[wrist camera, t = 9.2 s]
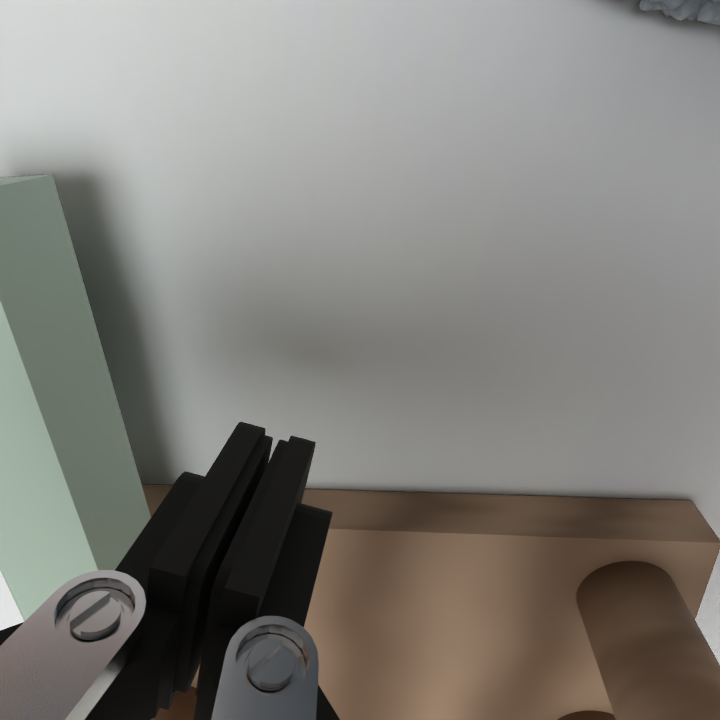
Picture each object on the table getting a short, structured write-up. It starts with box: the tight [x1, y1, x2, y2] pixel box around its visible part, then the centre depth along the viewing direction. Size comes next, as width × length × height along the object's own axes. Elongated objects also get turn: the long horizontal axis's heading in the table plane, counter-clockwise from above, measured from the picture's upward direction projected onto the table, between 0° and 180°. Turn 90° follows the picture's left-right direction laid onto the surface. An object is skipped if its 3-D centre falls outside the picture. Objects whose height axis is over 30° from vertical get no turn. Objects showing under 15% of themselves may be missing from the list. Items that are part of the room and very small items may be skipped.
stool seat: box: [142, 484, 720, 720], centre depth 19 cm, size 22×13×7 cm, turn 92°
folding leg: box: [0, 175, 151, 621], centre depth 15 cm, size 15×3×3 cm, turn 3°
